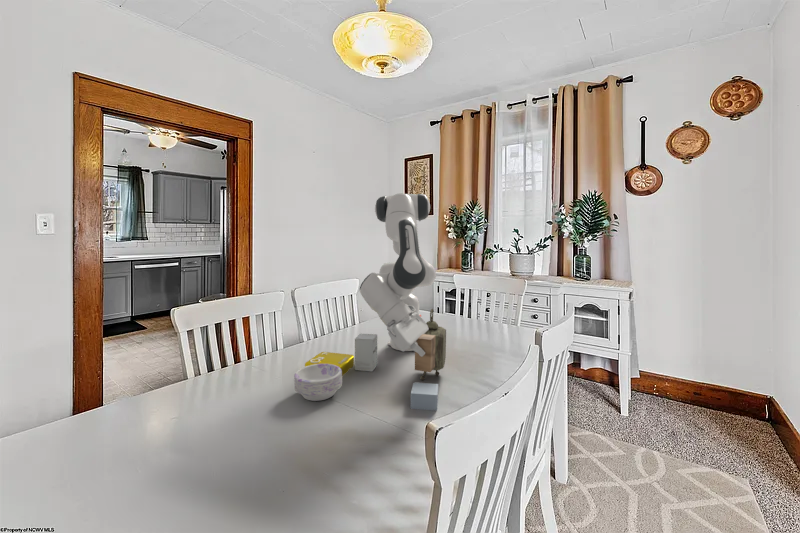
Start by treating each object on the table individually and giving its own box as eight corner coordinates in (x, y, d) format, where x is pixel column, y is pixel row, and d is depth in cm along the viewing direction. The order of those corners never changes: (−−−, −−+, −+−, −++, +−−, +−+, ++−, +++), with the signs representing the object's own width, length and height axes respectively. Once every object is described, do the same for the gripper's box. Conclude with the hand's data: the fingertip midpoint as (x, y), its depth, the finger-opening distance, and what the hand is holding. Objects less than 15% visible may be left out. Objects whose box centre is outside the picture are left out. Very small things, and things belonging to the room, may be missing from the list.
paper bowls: (284, 401, 117) (284, 376, 116) (312, 382, 131) (311, 360, 130) (326, 409, 111) (326, 384, 110) (350, 389, 126) (350, 366, 125)
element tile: (339, 379, 134) (339, 367, 134) (302, 375, 138) (302, 362, 138) (355, 365, 148) (355, 353, 148) (321, 361, 152) (321, 350, 152)
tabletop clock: (422, 367, 145) (423, 304, 143) (445, 369, 143) (446, 305, 141) (416, 382, 131) (417, 312, 129) (442, 384, 129) (443, 314, 127)
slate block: (413, 397, 120) (413, 382, 120) (438, 398, 119) (438, 384, 118) (410, 409, 112) (410, 393, 112) (437, 411, 111) (437, 395, 110)
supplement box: (372, 371, 140) (372, 339, 139) (354, 370, 142) (354, 338, 140) (377, 364, 148) (377, 334, 146) (360, 363, 149) (359, 332, 148)
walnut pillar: (419, 364, 117) (420, 333, 116) (434, 366, 116) (435, 335, 115) (414, 370, 113) (415, 337, 112) (430, 372, 111) (431, 339, 110)
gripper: (391, 318, 105) (424, 356, 103) (414, 304, 124) (442, 336, 122) (377, 332, 107) (409, 369, 105) (402, 316, 126) (429, 348, 124)
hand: (427, 351), depth 113 cm, fingers closed on walnut pillar, 5 cm apart
